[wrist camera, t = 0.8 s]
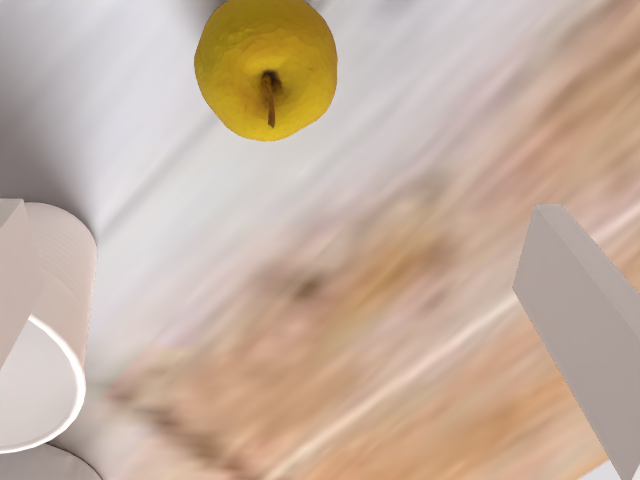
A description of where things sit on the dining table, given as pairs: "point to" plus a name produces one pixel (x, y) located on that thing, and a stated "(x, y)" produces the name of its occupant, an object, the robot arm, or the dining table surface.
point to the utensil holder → (44, 465)
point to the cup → (50, 335)
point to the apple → (266, 67)
